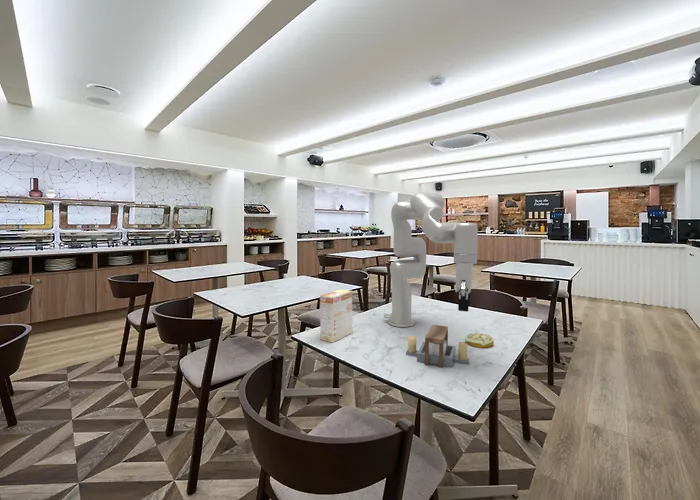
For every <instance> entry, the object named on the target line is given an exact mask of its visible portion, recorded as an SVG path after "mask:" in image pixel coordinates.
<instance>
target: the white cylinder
mask: <svg viewBox="0 0 700 500" xmlns="http://www.w3.org/2000/svg"><path fill="white" fill-rule="evenodd" d="M446 344H447V341H446V340H445V339H444V342H443V356H446V354H445V353H446ZM429 354H432V355H439V343H437V342H429Z"/></svg>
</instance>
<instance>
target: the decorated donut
mask: <svg viewBox="0 0 700 500" xmlns="http://www.w3.org/2000/svg"><path fill="white" fill-rule="evenodd" d="M464 339H465V340H464V341H465V343H467V344H468V345H469V346H470V347H473V348H476V349H477V348H478V349H486V348H487V349H488V348H491V347H492V346H493V345H494V343H495V341H494V338H493V337H492V336H491V335H489V334H486V333H480V332H471V333H468V334H467V335H466V336H465V338H464Z"/></svg>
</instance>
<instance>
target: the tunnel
mask: <svg viewBox="0 0 700 500" xmlns="http://www.w3.org/2000/svg"><path fill="white" fill-rule="evenodd" d="M448 336H449V326H447V325H439V324H438V325H436V324H431V326H430V328H429V329H428V331H427V333H426V335H425V337H424V342H425V352H424V353H425V363H424V366H429V365H430V364H429V342H437V343H439V365H438V368H443V367H444V366H443V342H444V339H445V340H446V341H447V344H446V345H449V344H448V343H449V341H448V340H449V337H448Z"/></svg>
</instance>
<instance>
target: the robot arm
mask: <svg viewBox="0 0 700 500" xmlns="http://www.w3.org/2000/svg"><path fill="white" fill-rule="evenodd" d="M444 208H445V199H444V197H443V196H442V194H441V193H440V194H439V193H438V192H437V193H435V192H432V193H431V192H418V193H415V194H413V195H412V196H411V198H410V200H407V201H406V200H404V201H398V202H395V203H394V204H393V205H392V207H391V212H390V214H391V215H390V217H391V221H392V227H393V253H394V256H396V257H398V258H411V257H413V258H411V259H397V260H393V262H391V263H390V265H389V272H390V280H391V313H385V312H384V314H383V318H384V319H388V324H389V325H390V326H392V327H396V328H408V327H409V328H410V327H413V326H414V325H415V320H413V319H412V302H413V301H412V295H413V294H412V286H411V284H410V282H409V281H408V280H411V279H415V280H417V279H421V278H423V277H424V276H425V274H426V271H427V270H426V269H427V245H426V242H425V240H424V239H423V238H422V237H420V236H418V237H417V236H414V237H413V236H412V232H413V231H412V226H411V224H410V222H409V221H408V220H410V221H411V220H413V221H416V220H417V221H421V230H422V232H423V234H424V235H425V236H426V238H428V239H429V241H431V242H433V243H435V244H453V263H454V264H456V266H455V267H456V270H455V290H454V291H455V293H459V295H458V299H457V301H458V305H457V306H458V309H457V310H458V311H459V312H469V306H470V304H471V291H472V286H473V277H474V276H473V275H474V265H476V264H477V262H478V229H479V228H478V225H477V224H476V223H474V222H458V221H457V222H456V221H455V222H454V221H453V222H451V221H449V222H446V221H445V222H443V221H442V222H440V221H441V220H442V218H443V216H444V210H443V209H444Z"/></svg>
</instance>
